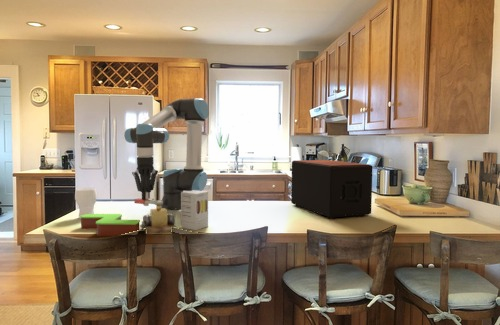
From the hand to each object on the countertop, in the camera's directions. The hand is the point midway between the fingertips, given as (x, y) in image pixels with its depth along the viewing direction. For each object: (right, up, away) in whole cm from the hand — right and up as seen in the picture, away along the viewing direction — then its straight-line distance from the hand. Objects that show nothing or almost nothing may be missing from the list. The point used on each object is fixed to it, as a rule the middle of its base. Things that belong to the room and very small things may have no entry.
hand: (145, 205), depth 175 cm
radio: (+96, -8, +38) cm, 103 cm away
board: (+7, -10, -5) cm, 13 cm away
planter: (-14, -11, -10) cm, 20 cm away
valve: (+7, -9, -5) cm, 13 cm away
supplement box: (+24, -10, -3) cm, 26 cm away
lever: (+3, +1, -4) cm, 5 cm away
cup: (-36, -8, +16) cm, 40 cm away
